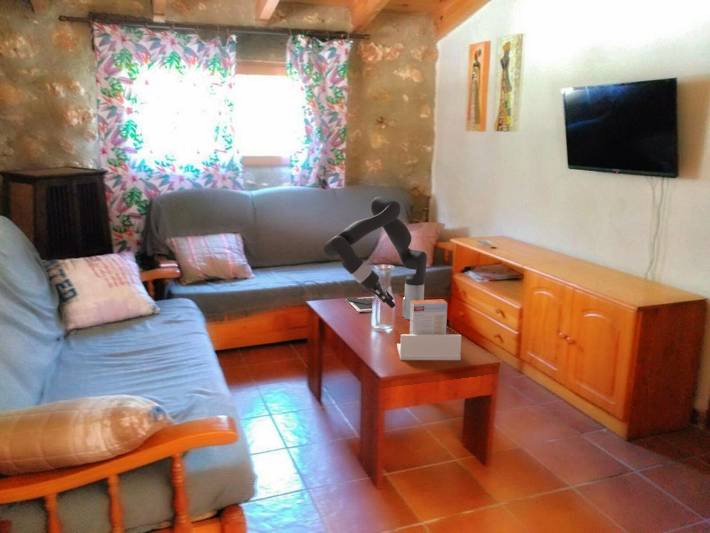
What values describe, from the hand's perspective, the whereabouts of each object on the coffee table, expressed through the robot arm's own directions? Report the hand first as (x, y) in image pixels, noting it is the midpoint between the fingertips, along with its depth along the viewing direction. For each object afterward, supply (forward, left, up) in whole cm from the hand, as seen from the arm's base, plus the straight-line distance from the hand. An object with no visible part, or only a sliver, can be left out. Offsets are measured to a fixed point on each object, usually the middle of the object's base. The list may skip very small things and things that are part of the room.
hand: (392, 303), depth 234 cm
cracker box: (+11, +9, -20) cm, 25 cm away
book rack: (+12, +10, -21) cm, 26 cm away
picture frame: (-46, +45, -22) cm, 68 cm away
